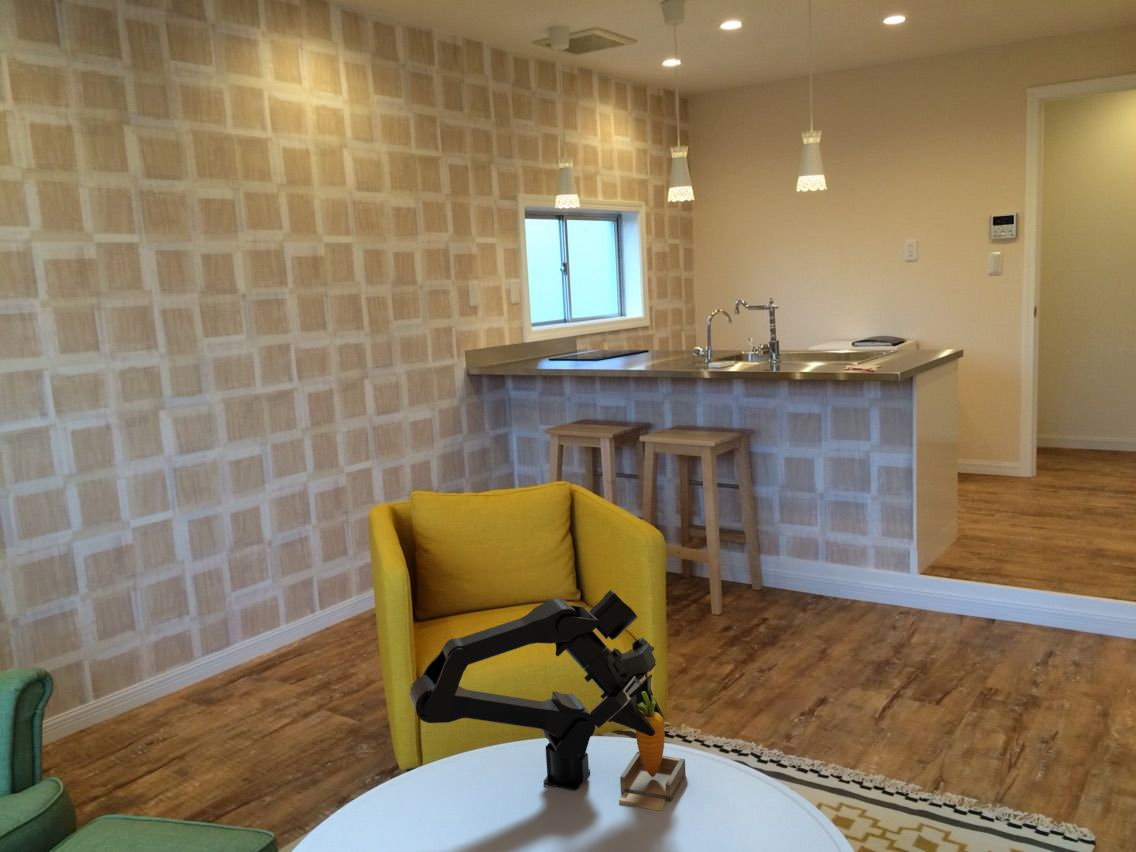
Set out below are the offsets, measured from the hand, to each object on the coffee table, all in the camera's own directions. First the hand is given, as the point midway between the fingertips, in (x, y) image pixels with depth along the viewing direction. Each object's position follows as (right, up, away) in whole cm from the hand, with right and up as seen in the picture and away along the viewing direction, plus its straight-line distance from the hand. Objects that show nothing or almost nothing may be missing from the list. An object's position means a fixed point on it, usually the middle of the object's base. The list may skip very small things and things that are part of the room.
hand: (658, 727), depth 158 cm
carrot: (-1, -9, +2) cm, 9 cm away
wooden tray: (-1, -11, +1) cm, 11 cm away
